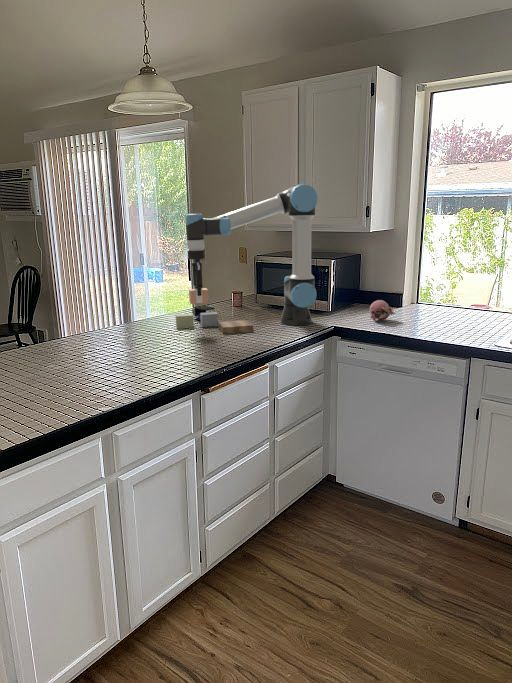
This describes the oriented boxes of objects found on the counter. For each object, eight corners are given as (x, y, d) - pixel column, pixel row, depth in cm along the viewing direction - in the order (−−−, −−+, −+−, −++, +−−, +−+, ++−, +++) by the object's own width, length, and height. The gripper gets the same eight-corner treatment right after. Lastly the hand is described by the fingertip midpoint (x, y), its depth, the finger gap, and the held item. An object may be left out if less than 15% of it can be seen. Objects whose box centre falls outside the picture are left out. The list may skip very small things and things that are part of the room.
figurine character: (191, 321, 271) (204, 323, 258) (190, 306, 270) (203, 307, 257) (203, 319, 275) (216, 321, 262) (202, 305, 274) (215, 306, 261)
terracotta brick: (206, 301, 240) (206, 288, 238) (208, 302, 235) (207, 289, 234) (189, 302, 238) (188, 289, 236) (190, 304, 233) (190, 290, 232)
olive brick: (192, 325, 255) (191, 313, 254) (193, 327, 251) (193, 315, 249) (176, 326, 253) (175, 314, 252) (177, 328, 249) (176, 316, 247)
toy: (398, 322, 247) (396, 314, 261) (392, 301, 244) (390, 294, 258) (373, 329, 250) (372, 321, 264) (367, 308, 248) (366, 301, 262)
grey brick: (216, 323, 258) (216, 311, 256) (218, 325, 253) (218, 313, 252) (200, 324, 256) (200, 312, 255) (202, 327, 251) (201, 314, 250)
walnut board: (247, 326, 251) (247, 320, 250) (253, 331, 240) (252, 325, 239) (218, 328, 248) (218, 322, 247) (223, 333, 237) (222, 327, 236)
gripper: (185, 248, 238) (188, 299, 244) (189, 251, 221) (193, 305, 227) (201, 247, 240) (203, 298, 246) (207, 250, 223) (210, 304, 229)
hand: (198, 301), depth 236 cm, fingers closed on terracotta brick, 5 cm apart
